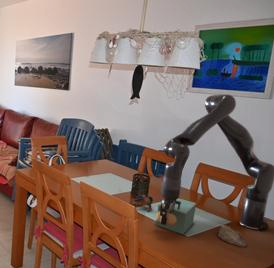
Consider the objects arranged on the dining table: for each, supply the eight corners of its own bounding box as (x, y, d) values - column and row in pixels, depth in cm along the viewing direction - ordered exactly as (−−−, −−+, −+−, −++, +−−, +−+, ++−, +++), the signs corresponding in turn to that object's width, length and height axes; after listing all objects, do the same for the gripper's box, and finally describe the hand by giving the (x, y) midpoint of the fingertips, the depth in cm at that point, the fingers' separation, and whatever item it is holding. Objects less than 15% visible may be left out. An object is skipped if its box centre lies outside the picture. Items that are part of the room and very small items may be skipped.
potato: (177, 225, 149) (178, 214, 148) (173, 228, 145) (175, 217, 144) (157, 218, 155) (159, 208, 154) (153, 222, 151) (155, 211, 150)
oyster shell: (223, 243, 146) (225, 233, 145) (214, 231, 158) (216, 221, 157) (247, 247, 144) (249, 237, 143) (236, 234, 156) (238, 224, 155)
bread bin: (182, 234, 152) (186, 214, 150) (155, 225, 160) (158, 205, 158) (192, 223, 165) (196, 204, 163) (167, 215, 173) (169, 197, 171)
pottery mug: (146, 214, 173) (139, 199, 174) (133, 215, 181) (127, 201, 182) (160, 205, 179) (153, 190, 180) (147, 206, 187) (141, 192, 188)
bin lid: (185, 214, 150) (187, 205, 149) (157, 206, 158) (159, 197, 157) (196, 204, 163) (197, 195, 162) (169, 197, 171) (171, 188, 170)
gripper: (174, 192, 139) (168, 230, 142) (184, 185, 150) (179, 220, 153) (156, 187, 144) (151, 224, 147) (167, 181, 155) (162, 215, 158)
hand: (165, 222), depth 150 cm, fingers closed on potato, 5 cm apart
